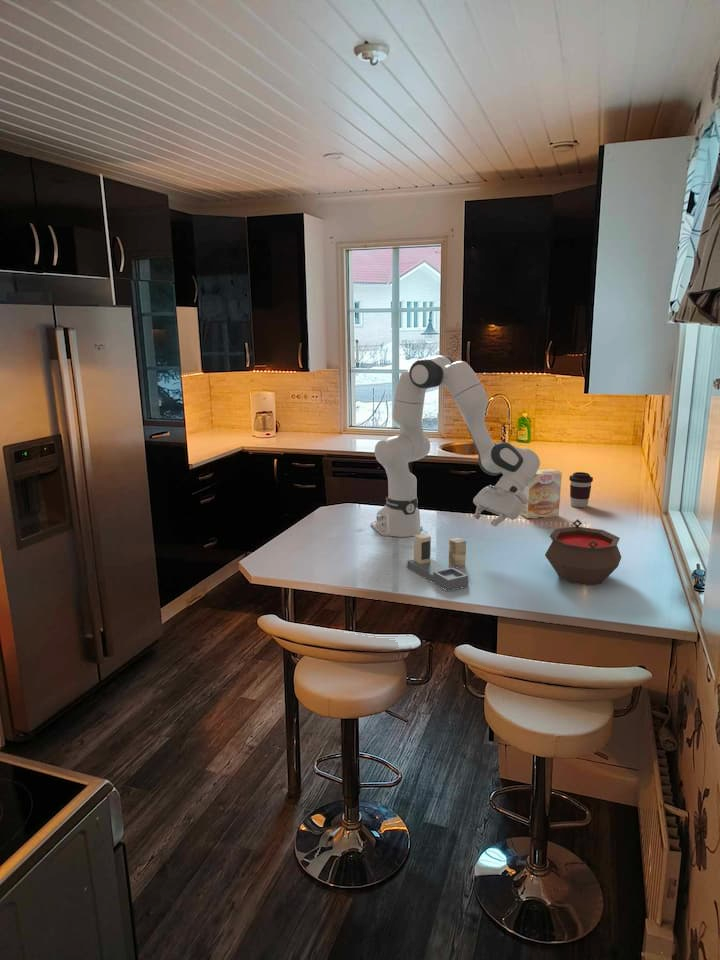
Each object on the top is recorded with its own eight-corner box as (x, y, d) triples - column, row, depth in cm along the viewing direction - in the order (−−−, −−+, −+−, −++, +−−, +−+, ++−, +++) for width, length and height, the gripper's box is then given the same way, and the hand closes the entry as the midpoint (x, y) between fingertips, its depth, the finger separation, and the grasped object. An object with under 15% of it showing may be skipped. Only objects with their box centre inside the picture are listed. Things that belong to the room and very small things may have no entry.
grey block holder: (407, 567, 216) (407, 535, 213) (426, 563, 219) (427, 531, 217) (447, 591, 196) (448, 556, 193) (468, 586, 200) (469, 551, 197)
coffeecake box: (527, 519, 268) (530, 474, 264) (519, 514, 275) (521, 470, 270) (559, 516, 272) (562, 472, 267) (550, 512, 278) (553, 468, 274)
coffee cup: (564, 506, 286) (566, 474, 283) (571, 501, 294) (573, 470, 290) (587, 510, 281) (589, 477, 277) (593, 505, 288) (595, 472, 285)
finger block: (448, 564, 218) (449, 539, 216) (457, 562, 220) (458, 537, 218) (455, 568, 215) (456, 542, 213) (465, 566, 217) (466, 541, 215)
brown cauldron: (537, 562, 220) (540, 516, 216) (609, 564, 217) (613, 518, 213) (550, 590, 197) (553, 540, 193) (631, 593, 194) (636, 542, 190)
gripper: (483, 478, 229) (460, 508, 227) (523, 491, 211) (498, 523, 209) (492, 489, 232) (470, 519, 230) (532, 502, 215) (508, 534, 212)
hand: (484, 521), depth 219 cm, fingers open, 8 cm apart
